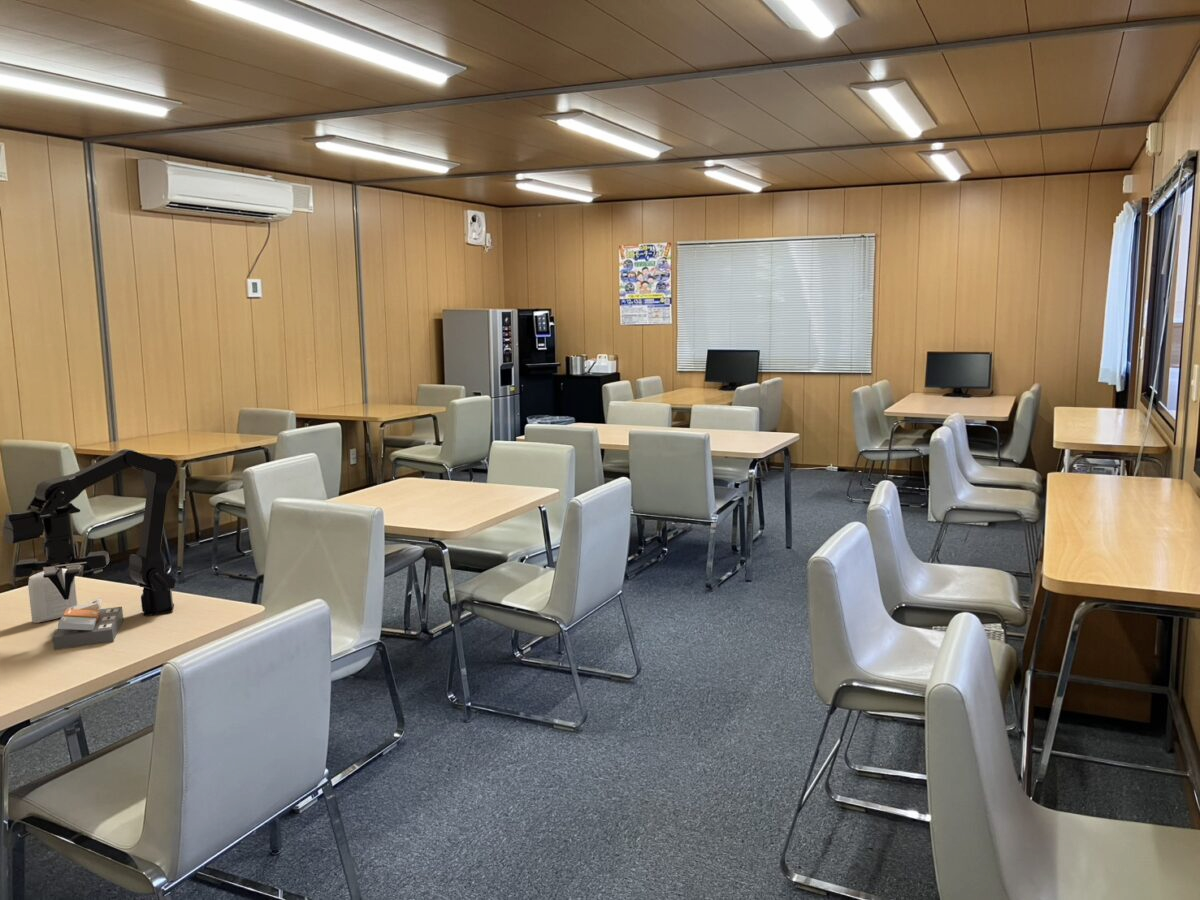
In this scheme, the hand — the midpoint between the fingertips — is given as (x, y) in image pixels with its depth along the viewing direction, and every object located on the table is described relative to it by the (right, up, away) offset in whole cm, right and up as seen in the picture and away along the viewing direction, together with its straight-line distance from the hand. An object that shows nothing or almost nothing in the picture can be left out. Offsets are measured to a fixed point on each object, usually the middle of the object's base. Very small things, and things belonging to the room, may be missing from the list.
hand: (66, 599), depth 211 cm
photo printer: (-12, -7, +15) cm, 20 cm away
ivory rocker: (0, -4, +7) cm, 8 cm away
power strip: (+4, -9, +3) cm, 10 cm away
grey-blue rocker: (+5, -6, -4) cm, 8 cm away
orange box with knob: (+2, -5, +2) cm, 6 cm away
